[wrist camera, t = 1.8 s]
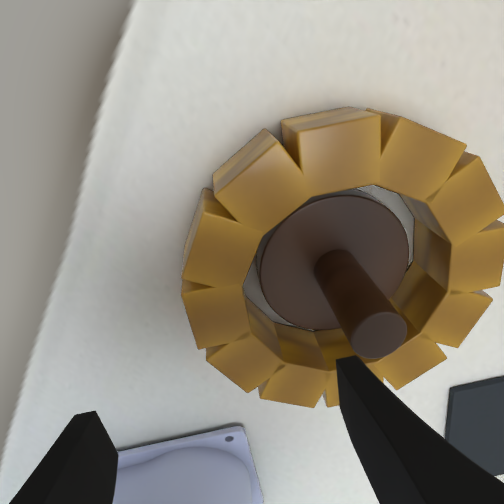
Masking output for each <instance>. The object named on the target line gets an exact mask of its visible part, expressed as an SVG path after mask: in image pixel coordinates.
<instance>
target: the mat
mask: <svg viewBox="0 0 504 504" xmlns="http://www.w3.org/2000/svg"><path fill="white" fill-rule="evenodd" d="M445 440H447V441H448V442H449V443H450V444H452V445H453V446H454V447H455V448H457V449H458V450H459V451H460V452H462V453H463V454H464V455H466V456H467V457H468V458H470V459H471V460H472V461H474V462H475V463H476V464H478V465H479V466H480V467H482V468H483V469H485V470H486V471H487V472H489V473H490V474H492V475H493V476H497V475H502V474H504V376H503V377H499V378H494V379H490V380H485V381H480V382H476V383H471V384H467V385H462V386H457V387H453V388H450V397H449V407H448V416H447V425H446V435H445Z"/></svg>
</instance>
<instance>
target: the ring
mask: <svg viewBox="0 0 504 504" xmlns="http://www.w3.org/2000/svg"><path fill="white" fill-rule="evenodd" d="M281 128H282V136H283V143H284V147H283V146H282V145H281V143H280V142H279V141H278V140H277V139H276V138H275V137H274V136H273V135H272V134H271V133H270V132H269V131H268V130H267V129H263V130H262V131H261V132H260V133H259V134H257V135H256V136H255V137H254V138H253V139H252V140H251V141H249V142H248V143H247V144H246V145H245V146H244V147H243V148H242V149H240V150H239V151H238V152H237V153H236V154H235V155H234V156H232V157H231V158H230V159H229V160H228V161H227V162H226V163H225V164H223V165H222V166H221V167H220V168H219V169H218V170H217V171H215V172H214V173H213V187H214V191H212V190H209V189H206V188H203V190H202V193H201V196H200V199H199V202H198V205H197V209H196V212H195V215H194V218H193V221H192V224H191V227H190V231H189V234H188V237H187V240H186V243H185V248H184V257H183V266H182V275H181V278H182V279H183V280H182V290H181V297H182V300H183V303H184V306H185V309H186V313H187V316H188V319H189V322H190V326H191V329H192V332H193V335H194V339H195V342H196V345H197V348H198V349H203V348H206V361H207V362H209V363H210V364H211V365H212V366H214V367H215V368H216V369H217V370H219V371H220V372H221V373H223V374H224V375H225V376H226V377H228V378H229V379H230V380H231V381H233V382H234V383H235V384H237V385H238V386H239V387H240V388H242V389H243V390H244V391H245V392H247V393H249V392H251V391H252V390H253V389H255V388H256V387H258V390H259V396H260V399H265V400H271V401H276V402H282V403H288V404H293V405H299V406H304V407H310V408H314V407H315V405H316V404H317V402H318V400H319V398H320V397H321V395H323V398H324V400H325V403H326V406H327V407H333V406H337V405H339V394H338V382H337V371H336V359H340V358H344V357H349V356H354V355H356V356H358V357H359V358H360V359H361V360H362V361H363V362H364V363H365V365H366V366H367V367H368V368H369V369H370V370H371V371H372V372H373V373H374V374H375V375H376V376H377V377H378V378H379V379H380V380H381V382H382V383H383V377H384V378H385V379H386V380H387V381H388V382H389V383H390V384H391V385H392V386H393V387H394V388H395V389H396V390H398V389H400V388H401V387H403V386H404V385H406V384H408V383H409V382H411V381H412V380H414V379H416V378H417V377H419V376H420V375H422V374H423V373H425V372H427V371H428V370H430V369H431V368H433V367H435V366H436V365H438V364H439V363H441V362H442V361H444V360H446V359H447V357H446V355H445V354H444V353H443V352H442V350H441V349H440V348H439V346H438V345H437V344H436V343H439V344H443V345H447V346H451V347H455V348H458V347H459V346H460V344H461V343H462V342H463V340H464V339H465V338H466V336H467V335H468V334H469V332H470V331H471V329H472V328H473V327H474V325H475V324H476V323H477V321H478V320H479V319H480V317H481V316H482V314H483V313H484V312H485V310H486V309H487V308H488V306H489V305H490V304H491V302H492V301H493V299H492V298H491V297H490V296H489V295H488V294H486V293H485V292H484V291H483V289H488V288H493V287H497V286H500V282H501V276H502V269H503V263H504V223H502V222H500V221H498V220H497V219H498V218H500V217H501V216H502V215H504V204H503V202H502V200H501V198H500V196H499V194H498V192H497V190H496V188H495V186H494V184H493V182H492V180H491V178H490V176H489V174H488V172H487V170H486V168H485V166H484V164H483V162H482V160H481V158H480V157H479V156H477V155H474V154H471V153H468V152H465V151H464V150H465V149H466V147H467V145H466V144H465V143H463V142H460V141H458V140H456V139H453V138H451V137H448V136H446V135H444V134H441V133H439V132H437V131H434V130H432V129H430V128H427V127H425V126H423V125H420V124H418V123H416V122H413V121H411V120H409V119H406V118H404V117H402V116H398V115H393V114H389V113H385V112H381V111H377V110H373V109H369V108H367V109H366V110H365V111H363V110H360V109H356V108H352V107H344V108H339V109H334V110H329V111H324V112H319V113H314V114H309V115H303V116H298V117H293V118H288V119H283V120H281ZM368 185H376V186H379V187H382V188H385V189H387V190H390V191H393V192H396V193H398V194H399V195H400V196H401V198H402V199H403V201H404V202H405V204H406V205H407V207H408V208H409V210H410V211H411V213H412V214H413V216H414V217H415V232H414V260H413V262H412V264H411V266H410V267H409V269H408V271H407V272H406V274H405V276H404V277H403V280H402V282H401V284H400V286H399V287H398V289H397V290H396V292H395V293H394V295H393V296H392V297H391V298H390V299H389V301H390V303H391V304H392V305H393V306H394V308H395V309H396V310H397V312H398V313H399V314H400V315H401V317H402V318H403V319H404V321H405V323H406V326H407V335H406V338H405V340H404V342H403V343H402V345H401V346H400V347H399V348H398V349H397V350H396V351H394V352H393V353H391V354H389V355H387V356H385V357H382V358H377V359H368V358H364V357H361V356H359V355H358V354H356V353H355V352H354V350H353V349H352V347H351V345H350V343H349V341H348V340H347V338H346V336H345V334H344V332H343V330H342V328H339V329H332V330H319V331H314V332H312V331H308V330H304V329H299V328H295V327H291V326H287V325H282V324H278V323H274V322H272V321H271V320H270V319H269V318H268V317H267V316H266V315H265V314H264V313H263V312H262V311H261V310H260V309H259V308H258V307H257V306H256V305H254V304H253V303H252V302H251V301H250V300H249V299H248V298H247V297H246V296H245V293H244V288H243V283H244V281H245V278H246V276H247V273H248V271H249V268H250V266H251V263H252V261H253V259H254V256H255V254H256V251H257V249H258V246H259V244H260V241H261V239H262V236H264V235H265V234H266V233H267V232H269V231H270V230H271V229H272V228H274V227H275V226H276V225H277V224H278V223H280V222H281V221H282V220H283V219H285V218H286V217H287V216H288V215H290V214H291V213H292V212H293V211H295V210H296V209H297V208H298V207H300V206H301V205H302V204H303V203H305V202H306V201H307V200H308V199H310V198H311V197H313V196H318V195H323V194H328V193H333V192H338V191H343V190H348V189H353V188H358V187H363V186H368Z"/></svg>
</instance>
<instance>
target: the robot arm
mask: <svg viewBox="0 0 504 504" xmlns="http://www.w3.org/2000/svg"><path fill="white" fill-rule="evenodd" d="M336 371H337V382H338V394H339V405H340V409H341V412H342V415H343V418H344V421H345V424H346V427H347V430H348V433H349V436H350V439H351V442H352V444H353V446H354V448H355V451H356V453H357V455H358V457H359V459H360V462H361V464H362V466H363V468H364V470H365V473H366V475H367V477H368V479H369V481H370V484H371V486H372V488H373V490H374V492H375V494H376V497H377V499H378V501H379V503H380V504H504V483H503V482H501V481H500V480H499V479H497V478H496V477H494V476H493V475H492V474H490V473H489V472H487V471H486V470H485V469H483V468H482V467H480V466H479V465H478V464H476V463H475V462H474V461H472V460H471V459H470V458H468V457H467V456H466V455H464V454H463V453H462V452H460V451H459V450H458V449H457V448H455V447H454V446H453V445H452V444H450V443H449V442H448V441H447V440H445V439H444V438H443V437H442V436H440V435H439V434H438V433H437V432H436V431H435V430H433V429H432V428H431V427H430V426H429V425H427V424H426V423H425V422H424V421H423V420H422V419H421V418H419V417H418V416H417V415H416V414H415V413H414V412H413V411H412V410H411V409H410V408H408V407H407V406H406V405H405V404H404V403H403V402H402V401H401V400H400V399H399V398H398V397H397V396H396V395H395V394H394V393H393V392H391V391H390V390H389V389H388V388H387V387H386V386H385V385H384V384H383V383H382V382H381V380H380V379H379V378H378V377H377V376H376V375H375V374H374V373H373V372H372V371H371V370H370V369H369V368H368V367H367V366H366V365H365V363H364V362H363V361H362V360H361V359H360V358H359V357H358V356H356V355H354V356H349V357H344V358H340V359H336ZM263 502H264V501H263V495H262V491H261V488H260V484H259V480H258V477H257V473H256V469H255V465H254V462H253V458H252V454H251V450H250V447H249V443H248V439H247V436H246V432H245V429H244V428H243V427H240V426H235V427H230V428H225V429H221V430H216V431H212V432H207V433H202V434H198V435H193V436H189V437H184V438H179V439H175V440H170V441H165V442H161V443H156V444H152V445H147V446H142V447H138V448H133V449H129V450H124V451H119V452H117V450H116V448H115V446H114V445H113V443H112V441H111V439H110V437H109V435H108V433H107V431H106V430H105V428H104V426H103V424H102V422H101V420H100V418H99V416H98V414H97V413H96V411H91V412H86V413H81V414H77V415H74V417H73V418H72V419H71V421H70V422H69V423H68V425H67V426H66V427H65V429H64V430H63V432H62V433H61V434H60V436H59V437H58V439H57V440H56V441H55V443H54V444H53V445H52V447H51V448H50V450H49V451H48V452H47V454H46V455H45V456H44V458H43V459H42V461H41V462H40V463H39V465H38V466H37V467H36V469H35V470H34V471H33V473H32V474H31V475H30V477H29V478H28V479H27V481H26V482H25V483H24V485H23V486H22V487H21V489H20V490H19V491H18V493H17V494H16V495H15V497H14V498H13V499H12V500H11V502H10V503H9V504H263Z"/></svg>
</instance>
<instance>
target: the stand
mask: <svg viewBox="0 0 504 504" xmlns="http://www.w3.org/2000/svg"><path fill="white" fill-rule="evenodd" d="M408 258H409V245H408V240H407V235H406V232H405V230H404V227H403V226H402V224H401V222H400V220H399V219H398V218H397V217H396V215H395V214H394V213H393V212H392V211H391V210H390V209H388V208H387V207H386V206H385V205H383V204H382V203H381V202H379V201H378V200H377V199H375V198H374V197H372V196H370V195H368V194H366V193H364V192H362V191H358V190H355V189H348V190H343V191H338V192H333V193H328V194H323V195H318V196H313V197H311V198H310V199H308V200H307V201H306V202H305V203H303V204H302V205H301V206H300V207H298V208H297V209H296V210H295V211H293V212H292V213H291V214H290V215H288V216H287V217H286V218H285V219H283V220H282V221H281V222H280V223H278V224H277V225H276V226H275V227H274V228H272V229H271V230H270V231H269V232H267V233H266V234H265V235H264V236H262V239H261V241H260V244H259V246H258V251H257V260H256V266H257V274H258V278H259V282H260V285H261V289H262V292H263V295H264V297H265V299H266V301H267V302H268V304H269V305H270V307H271V308H272V309H273V310H274V311H275V312H276V313H277V314H278V315H279V316H280V317H282V318H283V319H285V320H286V321H288V322H290V323H292V324H294V325H296V326H299V327H303V328H307V329H312V330H332V329H339V328H342V330H343V332H344V334H345V336H346V338H347V340H348V341H349V343H350V345H351V347H352V349H353V350H354V352H355V353H356V354H358V355H359V356H361V357H364V358H368V359H377V358H382V357H385V356H387V355H389V354H391V353H393V352H394V351H396V350H397V349H398V348H399V347H400V346H401V345H402V343H403V342H404V340H405V338H406V335H407V326H406V323H405V321H404V319H403V318H402V317H401V315H400V314H399V313H398V312H397V310H396V309H395V308H394V306H393V305H392V304H391V303H390V301H389V299H390V298H391V297H392V296H393V295H394V293H395V292H396V290H397V289H398V287H399V286H400V284H401V282H402V280H403V277H404V275H405V272H406V269H407V265H408Z"/></svg>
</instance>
